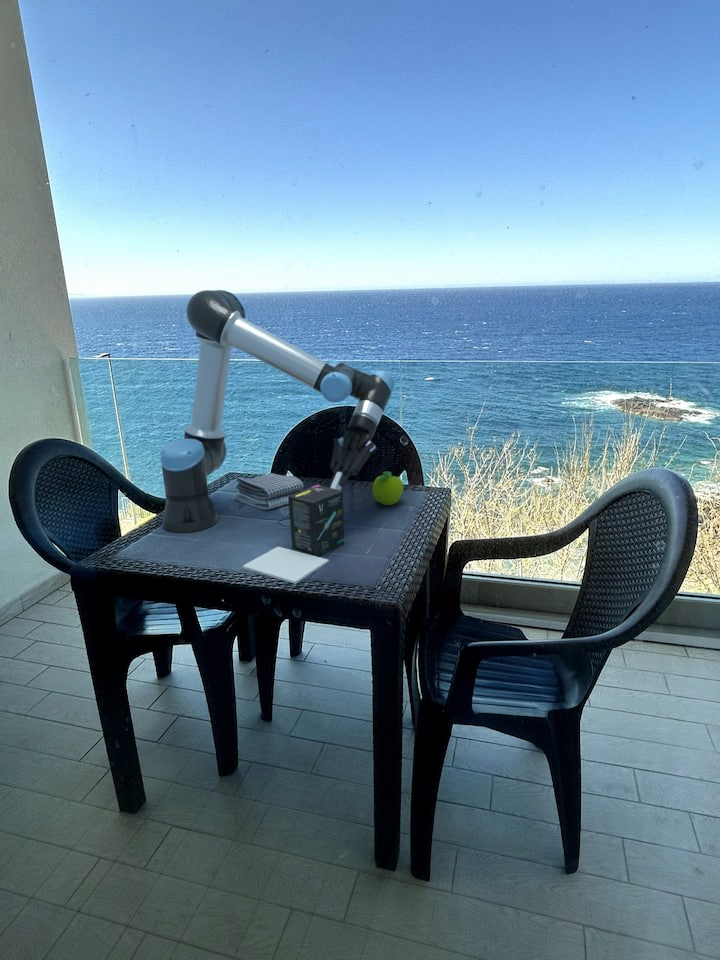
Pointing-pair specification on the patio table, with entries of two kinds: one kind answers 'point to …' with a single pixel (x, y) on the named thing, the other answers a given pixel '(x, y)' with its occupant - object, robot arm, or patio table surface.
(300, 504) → the tampon box
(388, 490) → the fruit
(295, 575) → the mat
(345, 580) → the patio table surface
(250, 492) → the towel
